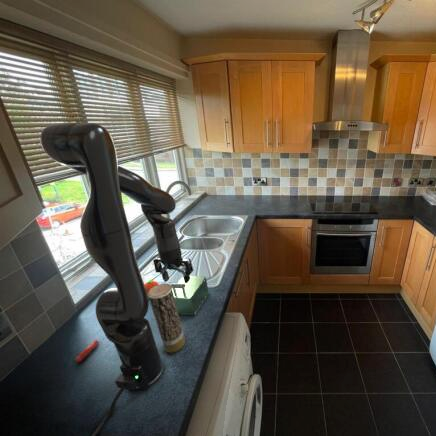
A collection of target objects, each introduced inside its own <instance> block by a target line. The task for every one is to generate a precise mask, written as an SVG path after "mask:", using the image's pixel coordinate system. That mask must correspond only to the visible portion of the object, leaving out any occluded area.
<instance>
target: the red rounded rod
mask: <svg viewBox="0 0 436 436" xmlns="http://www.w3.org/2000/svg"><path fill="white" fill-rule="evenodd" d="M99 343H100V341H99V340H97V339H96V340H93V341H91V343H90V344H89V345H87V347H85V349H84V350H82V351H81V353H79V354H78V355H77V356H76V358H75V362H76V363H80V362H82V361H83V360H84V359H85V358H86V357H87V356H88V355H90V353H91V352H92V351H93V350H94V349H95V348H96V347H97V346H98V345H99Z"/></svg>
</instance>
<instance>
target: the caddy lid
mask: <svg viewBox="0 0 436 436" xmlns="http://www.w3.org/2000/svg"><path fill="white" fill-rule="evenodd" d="M189 276H190V280H189V281H188V283H185V282H184V277H183V276H182V277H181V278H180V279H179V280H178V282H172V283H170V285H171V287H172V291H173V295H174V299H180V300H191V299H192V297H193V296H194V294H195V293H196V292H197V290H198V289H199V287H200V286H201V285H202V283H203V282H204V280H205V279H206V280H207V277H206V276H202V275H201V276H199V275H189Z"/></svg>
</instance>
